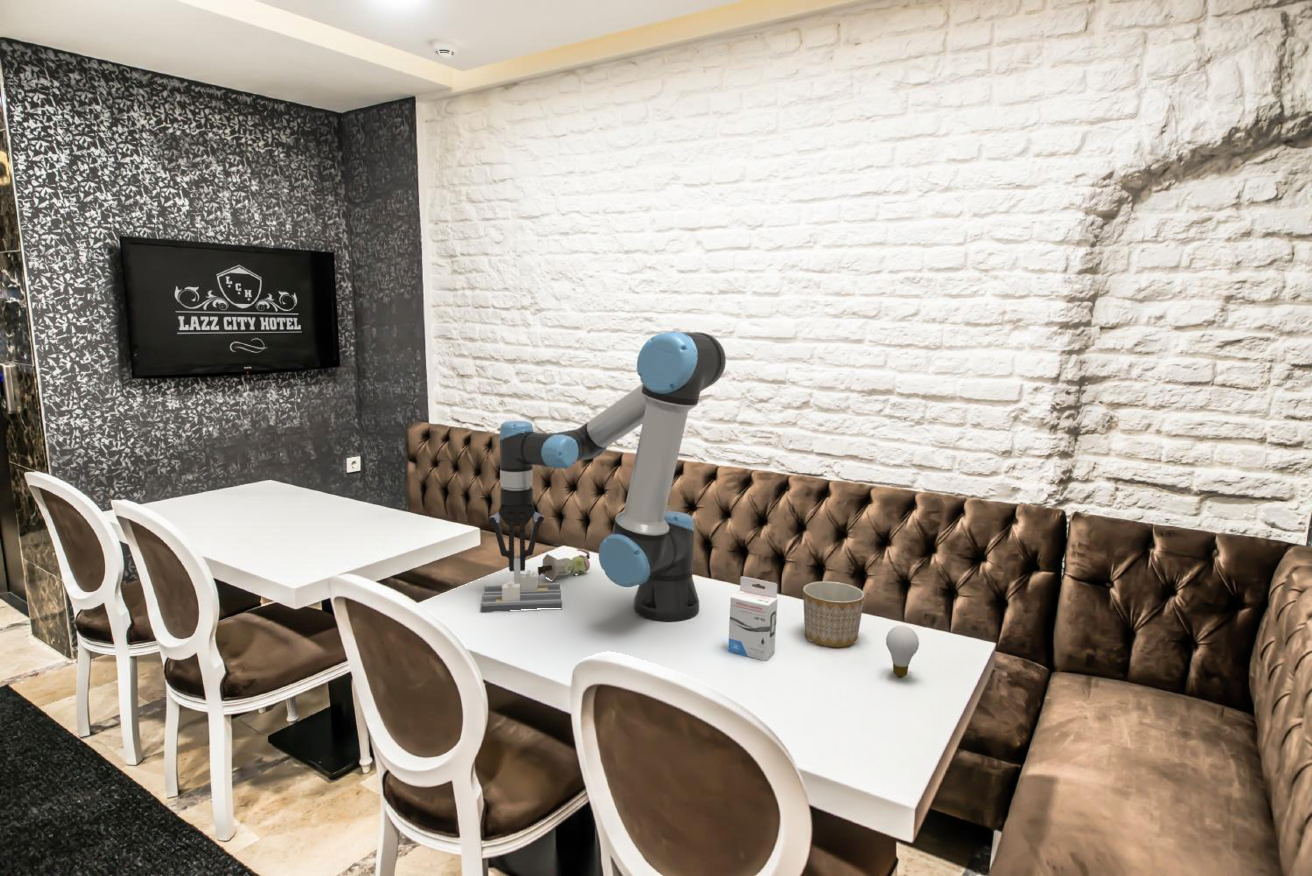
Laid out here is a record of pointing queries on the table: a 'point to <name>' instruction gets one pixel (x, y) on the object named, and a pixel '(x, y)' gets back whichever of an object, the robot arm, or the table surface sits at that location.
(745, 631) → the ink box
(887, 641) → the light bulb
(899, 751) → the table surface
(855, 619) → the planter
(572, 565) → the figurine
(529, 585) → the tab
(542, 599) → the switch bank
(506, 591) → the tab
